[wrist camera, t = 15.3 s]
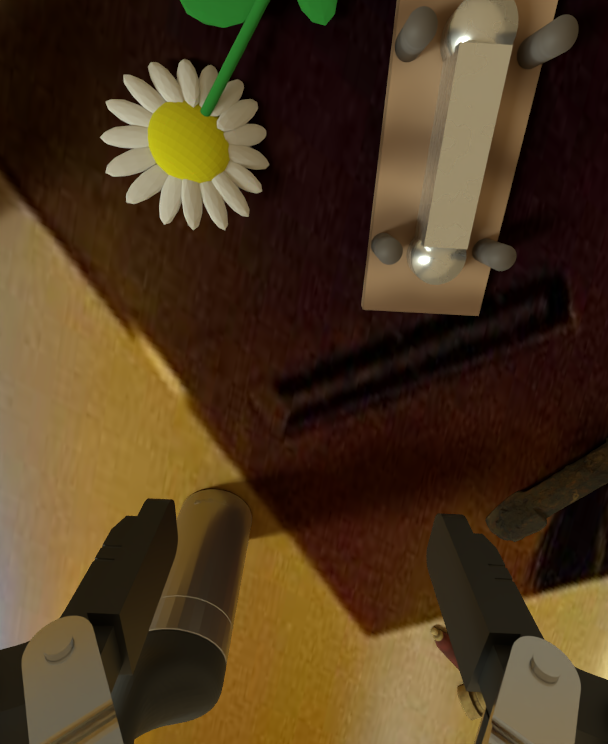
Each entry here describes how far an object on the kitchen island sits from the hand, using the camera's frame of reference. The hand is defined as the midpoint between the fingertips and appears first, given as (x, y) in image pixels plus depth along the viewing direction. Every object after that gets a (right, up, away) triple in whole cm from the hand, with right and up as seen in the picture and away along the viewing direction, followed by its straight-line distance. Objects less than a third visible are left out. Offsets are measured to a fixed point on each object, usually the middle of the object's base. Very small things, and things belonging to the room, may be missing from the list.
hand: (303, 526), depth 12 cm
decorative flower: (-4, +31, +18) cm, 36 cm away
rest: (+12, +23, +21) cm, 33 cm away
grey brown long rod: (+30, -8, +36) cm, 48 cm away
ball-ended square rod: (+12, +22, +20) cm, 32 cm away
